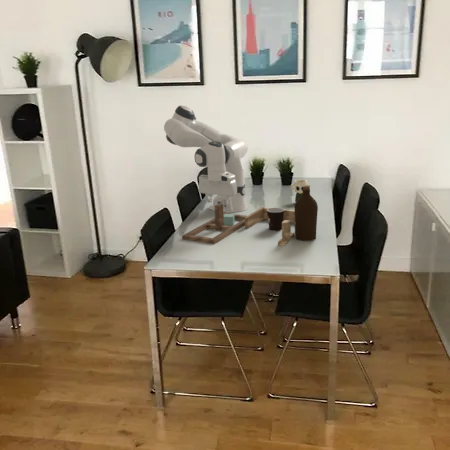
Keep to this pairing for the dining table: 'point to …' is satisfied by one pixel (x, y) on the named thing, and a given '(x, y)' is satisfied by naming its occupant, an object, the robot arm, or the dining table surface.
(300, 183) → the character mug
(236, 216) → the brown rectangular open frame
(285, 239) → the tan blocky wooden part
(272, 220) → the coffee mug
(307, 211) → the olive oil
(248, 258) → the dining table surface
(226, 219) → the teal cube
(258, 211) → the frame
